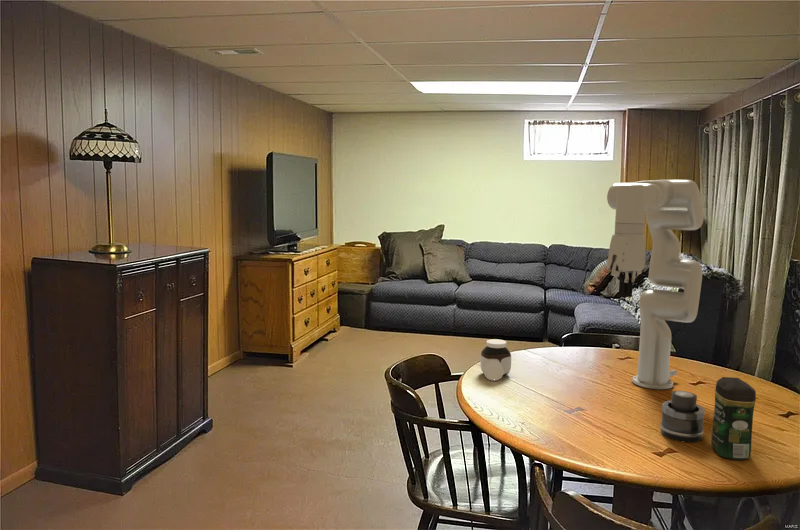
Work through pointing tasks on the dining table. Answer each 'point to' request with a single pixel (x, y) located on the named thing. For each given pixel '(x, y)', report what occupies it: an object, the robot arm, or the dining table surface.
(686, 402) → the dark grey short cylinder
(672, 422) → the lens barrel
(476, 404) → the dining table surface
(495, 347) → the spread jar
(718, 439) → the coffee jar
